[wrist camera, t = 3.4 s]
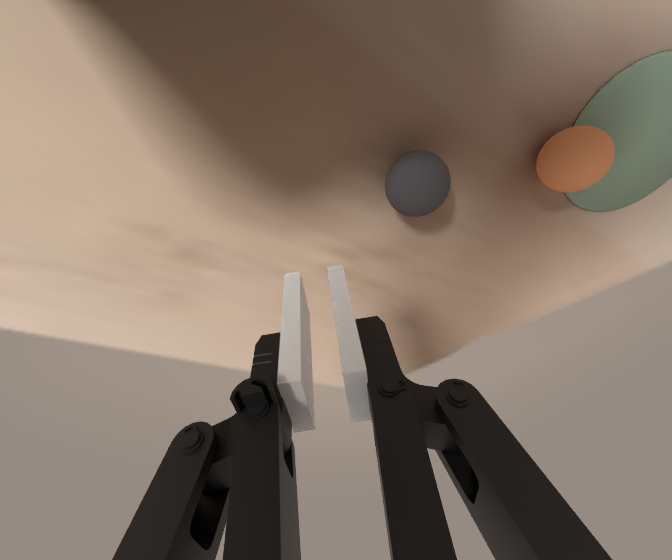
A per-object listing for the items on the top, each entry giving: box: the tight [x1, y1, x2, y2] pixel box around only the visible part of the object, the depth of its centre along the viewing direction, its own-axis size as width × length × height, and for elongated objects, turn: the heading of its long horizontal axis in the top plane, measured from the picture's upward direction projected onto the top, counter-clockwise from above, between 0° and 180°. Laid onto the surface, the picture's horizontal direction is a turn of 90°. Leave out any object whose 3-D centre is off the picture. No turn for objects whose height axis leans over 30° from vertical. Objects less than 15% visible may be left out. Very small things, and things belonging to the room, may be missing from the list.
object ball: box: [536, 125, 615, 192], centre depth 28 cm, size 6×6×6 cm
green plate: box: [564, 51, 672, 211], centre depth 30 cm, size 14×14×1 cm
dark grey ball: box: [385, 151, 450, 217], centre depth 27 cm, size 6×6×6 cm
